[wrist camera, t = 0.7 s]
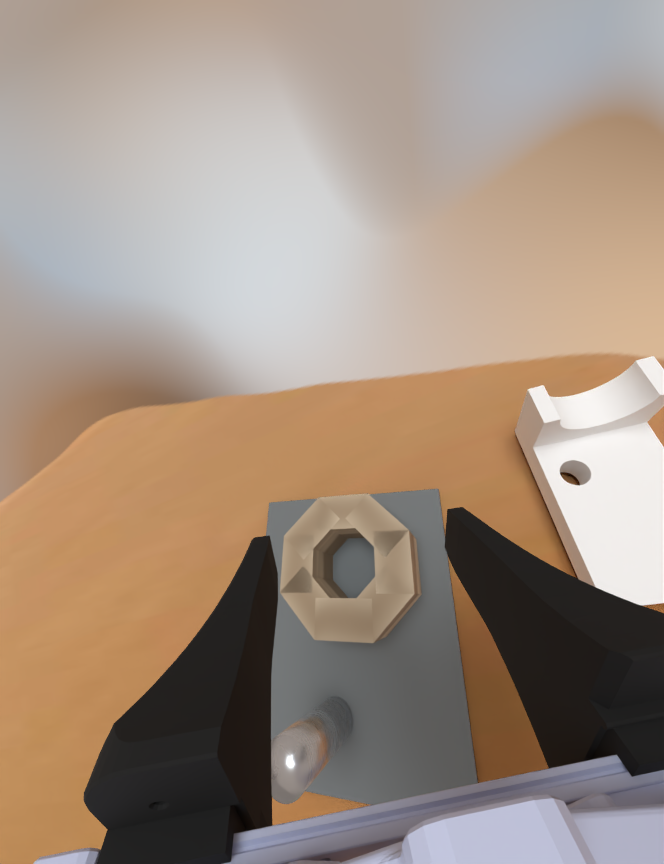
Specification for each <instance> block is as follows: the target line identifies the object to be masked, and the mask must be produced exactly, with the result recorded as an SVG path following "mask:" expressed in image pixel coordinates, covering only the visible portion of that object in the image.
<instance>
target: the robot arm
mask: <svg viewBox="0 0 664 864" xmlns="http://www.w3.org/2000/svg"><path fill="white" fill-rule="evenodd" d="M445 550H446V552H447V554H448V557H449V559H450V562H451V564H452V566H453V568H454V570H455V572H456V574H457V576H458V578H459V579H460V581H461V583H462V584H463V586H464V588H465V590H466V591H467V593H468V595H469V596H470V598H471V600H472V601H473V603H474V605H475V607H476V608H477V610H478V612H479V613H480V615H481V617H482V618H483V620H484V622H485V624H486V625H487V627H488V629H489V631H490V633H491V635H492V637H493V639H494V641H495V643H496V645H497V647H498V649H499V651H500V654H501V656H502V658H503V660H504V662H505V664H506V666H507V669H508V671H509V673H510V675H511V678H512V680H513V682H514V684H515V687H516V689H517V691H518V693H519V696H520V698H521V700H522V703H523V705H524V708H525V710H526V712H527V715H528V717H529V719H530V722H531V724H532V727H533V729H534V732H535V734H536V737H537V739H538V742H539V744H540V747H541V749H542V752H543V754H544V757H545V760H546V762H547V765H548V767H549V769H544V770H539V771H535V772H530V773H525V774H520V775H515V776H510V777H506V778H501V779H496V780H491V781H486V782H481V783H477V784H472V785H467V786H462V787H457V788H452V789H448V790H443V791H438V792H433V793H428V794H423V795H419V796H414V797H409V798H404V799H399V800H394V801H390V802H385V803H380V804H375V805H370V806H365V807H361V808H356V809H351V810H346V811H341V812H336V813H332V814H327V815H322V816H317V817H312V818H307V819H303V820H298V821H293V822H288V823H283V824H278V825H274V826H272V785H271V673H272V658H273V648H274V637H275V627H276V617H277V606H278V572H277V567H276V562H275V558H274V553H273V549H272V544H271V539H270V535H269V536H263V537H256V538H253V540H252V541H251V543H250V546H249V548H248V550H247V552H246V554H245V557H244V559H243V561H242V563H241V565H240V567H239V568H238V570H237V572H236V574H235V576H234V578H233V580H232V581H231V583H230V585H229V587H228V588H227V590H226V592H225V593H224V595H223V597H222V598H221V600H220V601H219V603H218V605H217V606H216V608H215V609H214V611H213V612H212V614H211V615H210V617H209V618H208V620H207V621H206V622H205V624H204V625H203V626H202V628H201V629H200V631H199V632H198V633H197V635H196V636H195V637H194V638H193V640H192V641H191V642H190V643H189V645H188V646H187V647H186V649H185V650H184V651H183V652H182V653H181V655H180V656H179V657H178V658H177V659H176V661H175V662H174V663H173V664H172V665H171V666H170V667H169V668H168V669H167V670H166V672H165V673H164V674H163V675H162V676H161V677H160V678H159V679H158V680H157V682H156V683H155V684H154V685H153V686H152V687H151V688H150V689H149V690H148V691H147V692H146V693H145V694H144V695H143V696H142V697H141V698H140V699H139V700H138V701H137V702H136V703H135V704H134V705H133V706H132V707H131V708H130V709H129V710H128V711H127V712H126V713H125V714H124V715H123V716H122V717H121V718H119V719H118V720H117V721H116V722H115V723H114V725H113V727H112V729H111V731H110V733H109V735H108V737H107V739H106V741H105V743H104V745H103V747H102V750H101V752H100V754H99V757H98V759H97V762H96V764H95V767H94V769H93V772H92V774H91V777H90V779H89V782H88V784H87V787H86V789H85V792H84V802H85V804H86V806H87V808H88V809H89V811H90V812H91V813H92V814H93V815H94V816H95V817H96V818H97V819H98V820H99V821H100V822H101V823H102V824H103V825H104V826H105V827H106V828H107V829H108V830H107V833H106V836H105V839H104V842H103V845H102V849H101V850H100V849H97V848H84V849H78V850H73V851H68V852H63V853H59V854H54V855H49V856H44V857H40V858H39V859H37V860H36V861H35V862H34V864H664V613H661V612H658V611H655V610H652V609H649V608H646V607H643V606H641V605H638V604H635V603H633V602H630V601H628V600H625V599H623V598H620V597H618V596H615V595H613V594H610V593H608V592H605V591H603V590H601V589H598V588H596V587H594V586H592V585H590V584H587V583H585V582H583V581H581V580H579V579H577V578H575V577H573V576H571V575H569V574H566V573H565V572H563V571H561V570H559V569H557V568H555V567H553V566H551V565H550V564H548V563H546V562H544V561H542V560H541V559H539V558H537V557H535V556H534V555H532V554H530V553H529V552H527V551H526V550H524V549H522V548H521V547H519V546H518V545H516V544H514V543H513V542H511V541H510V540H508V539H507V538H505V537H504V536H502V535H501V534H499V533H498V532H497V531H495V530H494V529H492V528H491V527H489V526H488V525H487V524H485V523H484V522H482V521H481V520H480V519H478V518H477V517H475V516H474V515H473V514H471V513H470V512H468V511H467V510H466V509H464V508H463V507H460V508H453V509H448V511H447V523H446V535H445Z"/></svg>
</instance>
